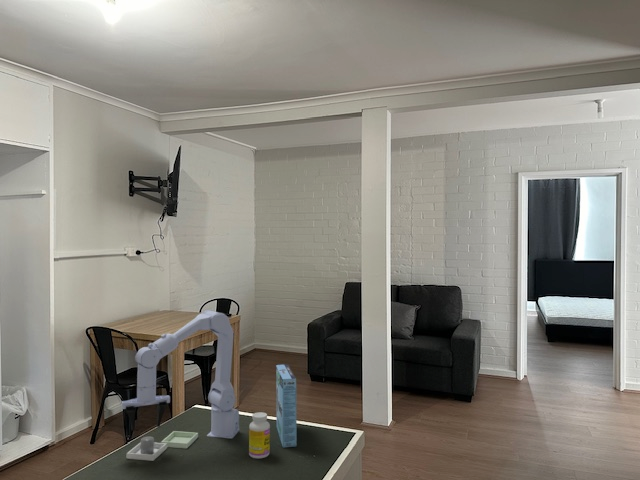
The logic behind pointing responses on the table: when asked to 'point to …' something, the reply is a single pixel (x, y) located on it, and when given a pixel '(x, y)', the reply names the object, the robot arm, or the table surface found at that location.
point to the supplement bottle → (259, 436)
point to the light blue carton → (286, 405)
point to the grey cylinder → (147, 445)
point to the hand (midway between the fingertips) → (145, 427)
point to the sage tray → (180, 439)
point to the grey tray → (136, 454)
